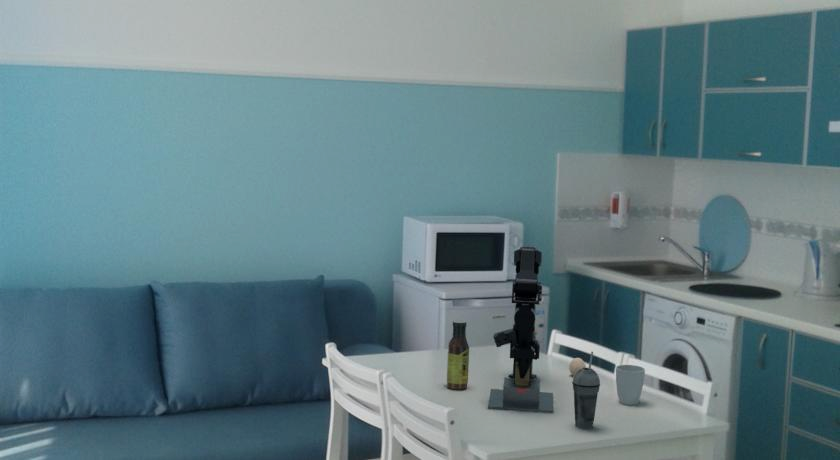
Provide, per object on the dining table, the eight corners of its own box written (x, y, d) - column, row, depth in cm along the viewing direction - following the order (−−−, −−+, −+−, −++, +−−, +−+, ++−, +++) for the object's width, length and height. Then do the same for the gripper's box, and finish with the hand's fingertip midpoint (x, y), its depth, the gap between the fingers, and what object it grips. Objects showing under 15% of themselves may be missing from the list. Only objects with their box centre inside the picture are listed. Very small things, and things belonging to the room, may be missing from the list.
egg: (573, 378, 311) (574, 360, 311) (565, 374, 316) (566, 356, 315) (588, 377, 313) (589, 359, 312) (580, 373, 318) (581, 355, 317)
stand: (490, 391, 294) (491, 373, 293) (552, 395, 292) (553, 377, 291) (487, 409, 276) (488, 389, 275) (553, 413, 274) (554, 393, 273)
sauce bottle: (465, 391, 293) (468, 324, 291) (444, 389, 294) (447, 323, 292) (469, 385, 300) (471, 320, 297) (448, 383, 301) (451, 318, 298)
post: (514, 396, 286) (515, 361, 285) (528, 397, 286) (530, 362, 284) (513, 400, 282) (515, 365, 281) (528, 401, 282) (530, 366, 280)
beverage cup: (567, 422, 267) (570, 348, 264) (594, 422, 267) (598, 348, 265) (573, 430, 259) (577, 354, 257) (601, 430, 260) (605, 355, 258)
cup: (644, 400, 290) (646, 366, 288) (641, 408, 282) (643, 373, 281) (616, 397, 292) (618, 363, 291) (612, 404, 285) (614, 370, 283)
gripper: (497, 313, 291) (495, 366, 293) (494, 326, 273) (492, 383, 275) (535, 315, 290) (533, 368, 292) (535, 329, 272) (533, 385, 274)
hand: (522, 376), depth 283 cm, fingers open, 4 cm apart
